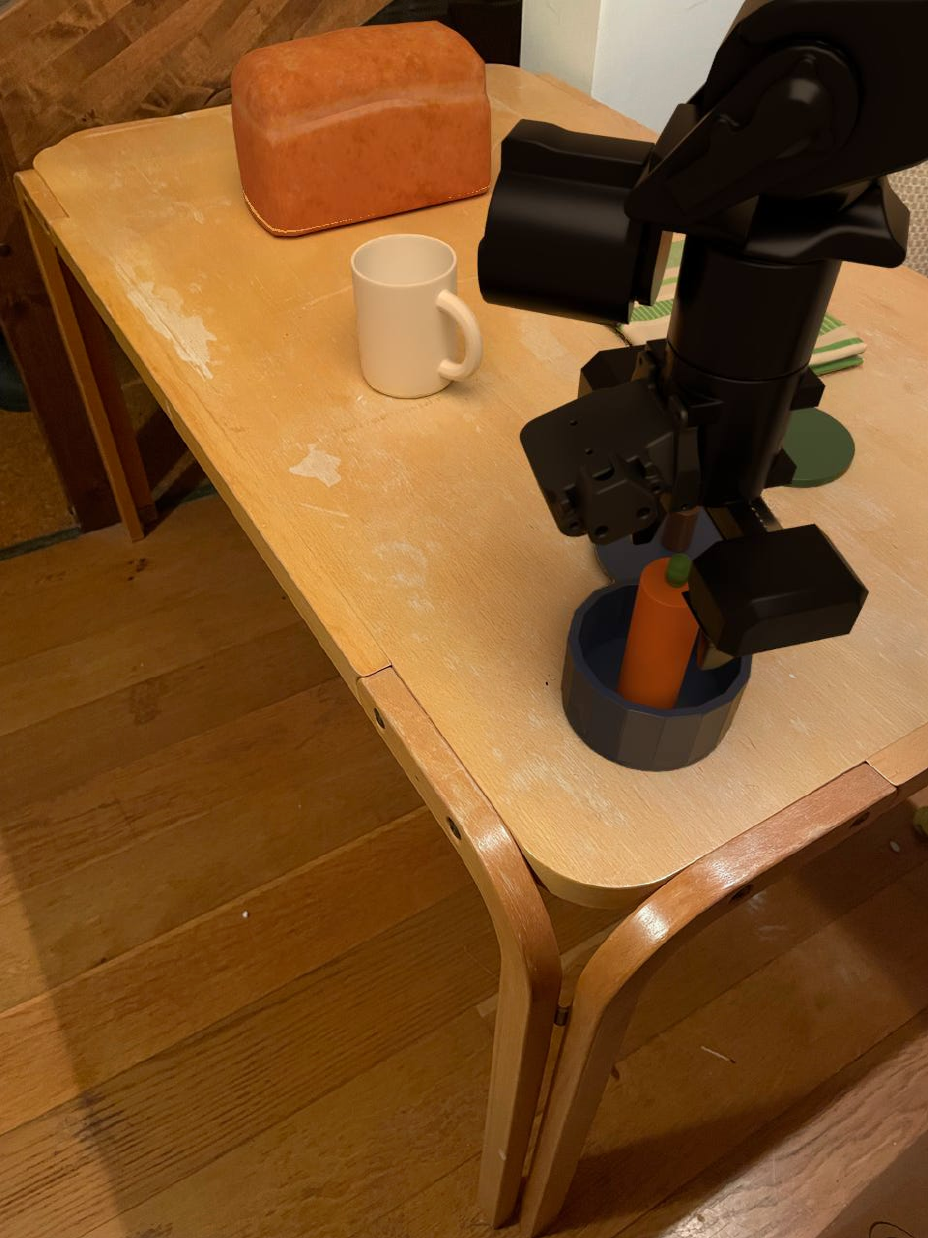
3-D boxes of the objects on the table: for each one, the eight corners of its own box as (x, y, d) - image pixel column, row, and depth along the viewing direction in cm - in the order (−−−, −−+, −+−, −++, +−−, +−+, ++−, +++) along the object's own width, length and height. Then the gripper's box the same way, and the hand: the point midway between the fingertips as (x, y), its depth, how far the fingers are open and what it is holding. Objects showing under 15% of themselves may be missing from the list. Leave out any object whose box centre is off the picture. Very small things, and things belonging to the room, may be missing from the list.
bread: (235, 194, 100) (203, 31, 88) (447, 150, 107) (444, -5, 95) (274, 247, 92) (245, 76, 80) (500, 196, 99) (505, 32, 87)
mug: (510, 386, 76) (516, 271, 68) (445, 432, 72) (443, 315, 64) (408, 335, 81) (402, 223, 73) (341, 375, 77) (327, 260, 69)
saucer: (852, 419, 73) (855, 411, 72) (851, 498, 66) (855, 490, 66) (727, 399, 74) (729, 390, 74) (715, 474, 68) (717, 466, 68)
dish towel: (717, 246, 91) (722, 220, 89) (868, 367, 77) (879, 338, 75) (561, 282, 87) (564, 255, 85) (692, 416, 73) (699, 388, 71)
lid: (760, 516, 65) (776, 467, 62) (748, 629, 58) (766, 581, 55) (608, 488, 67) (615, 439, 64) (578, 594, 60) (585, 545, 57)
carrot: (679, 678, 55) (721, 540, 46) (672, 725, 53) (714, 589, 44) (621, 665, 56) (651, 526, 47) (611, 711, 53) (641, 574, 44)
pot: (737, 654, 57) (758, 596, 53) (721, 790, 50) (744, 736, 46) (579, 620, 59) (587, 562, 54) (545, 748, 52) (551, 692, 48)
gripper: (485, 254, 40) (481, 511, 52) (633, 530, 29) (585, 782, 40) (713, 226, 42) (660, 480, 54) (942, 475, 30) (809, 732, 42)
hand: (672, 601), depth 48 cm, fingers open, 9 cm apart
